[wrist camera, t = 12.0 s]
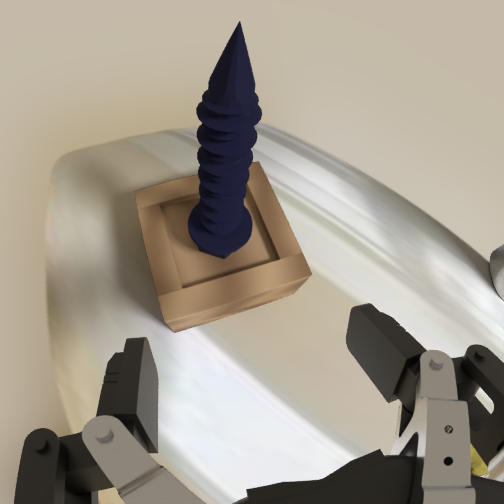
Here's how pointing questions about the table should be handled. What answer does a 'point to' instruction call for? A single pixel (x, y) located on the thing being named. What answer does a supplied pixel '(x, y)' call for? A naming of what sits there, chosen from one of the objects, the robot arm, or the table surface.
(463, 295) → the table surface
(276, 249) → the plinth
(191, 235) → the screw
